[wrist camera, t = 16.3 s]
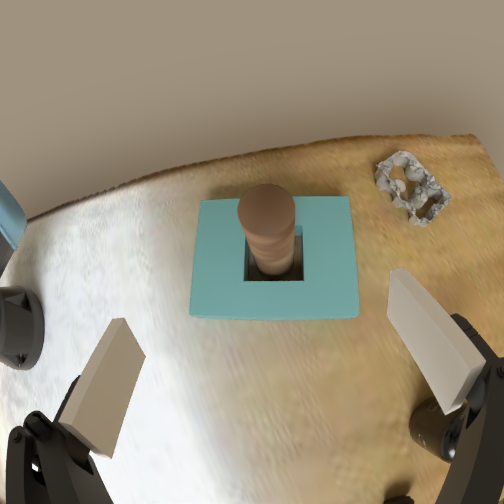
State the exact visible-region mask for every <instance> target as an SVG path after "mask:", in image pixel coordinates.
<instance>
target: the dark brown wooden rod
mask: <svg viewBox="0 0 504 504" xmlns="http://www.w3.org/2000/svg"><path fill="white" fill-rule="evenodd" d="M384 504H414V501H413V499H411V497H409V496H399V497H394V498H390V499H388V500H386V501H385V502H384Z"/></svg>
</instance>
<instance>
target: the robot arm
mask: <svg viewBox="0 0 504 504" xmlns="http://www.w3.org/2000/svg"><path fill="white" fill-rule="evenodd" d="M26 227H27V219H26V216H25V213H24V211H23V210H22V208H21V206H20V205H19V203H18V202H17V201H16V199H15V198H14V197H13V195H12V194H11V193H10V191H9V190H8V189H7V188H6V187H5V185H4V184H3V183H2V182H1V181H0V278H1V276H2V274H3V272H4V270H5V268H6V266H7V264H8V262H9V260H10V258H11V256H12V254H13V253H14V251H16V250H17V248H18V247H17V245H18V244H19V242H20V240H21V238H22V236H23V234H24V233H25V230H26ZM387 317H388V318H389V320H390V322H391V323H392V325H393V326H394V328H395V329H396V331H397V332H398V334H399V336H400V337H401V339H402V340H403V342H404V344H405V345H406V347H407V348H408V350H409V352H410V353H411V355H412V357H413V358H414V360H415V362H416V363H417V365H418V367H419V369H420V370H421V372H422V374H423V375H424V377H425V379H426V381H427V382H428V384H429V386H430V388H431V390H432V391H433V393H434V395H435V397H436V399H437V401H438V403H439V404H440V406H441V408H442V410H443V412H444V414H445V415H447V414H449V413H450V412H452V411H454V410H456V409H458V408H460V407H461V405H462V404H463V402H464V400H465V399H466V400H467V402H468V406H467V407H466V409H465V410H464V412H463V413H462V415H461V417H460V419H462V418H463V417H464V416H465V418H464V422H463V426H462V430H461V434H460V437H459V441H458V444H457V448H456V451H455V454H454V457H453V460H452V463H451V466H450V469H449V471H448V474H447V477H446V479H445V482H444V484H443V487H442V489H441V491H440V494H439V496H438V498H437V500H436V503H435V504H498V502H499V499H500V496H501V492H502V489H503V486H504V357H503V358H499V357H498V356H497V355H496V354H495V353H494V352H493V350H492V349H491V348H490V347H489V345H488V344H487V343H486V342H485V341H484V339H483V338H482V337H481V336H480V335H478V332H477V331H476V330H475V329H474V328H473V326H472V325H471V324H470V323H469V322H468V321H467V320H466V319H465V318H464V317H462V316H460V315H458V314H457V313H455V314H453V315H451V316H449V314H448V313H447V312H446V311H445V310H444V309H443V308H442V307H441V305H440V304H439V303H438V302H437V301H436V300H435V299H434V298H433V297H432V296H431V294H430V293H429V292H428V291H427V290H426V289H425V288H424V287H423V286H422V285H421V284H420V283H419V282H418V281H417V280H416V279H415V278H414V277H413V276H412V275H411V274H410V273H409V272H408V271H407V270H406V269H405V268H404V267H402V268H398V269H394V270H391V271H390V287H389V299H388V309H387ZM43 338H44V321H43V313H42V309H41V305H40V303H39V300H38V298H37V297H36V295H35V294H34V293H33V292H32V291H31V290H28V289H26V288H23V287H20V286H11V287H0V362H2V363H4V364H5V365H7V366H9V367H11V368H13V369H16V370H29V369H31V368H32V367H33V366H34V365H35V364H36V363H37V361H38V359H39V356H40V354H41V350H42V346H43ZM145 357H146V356H145V354H144V353H143V351H142V349H141V348H140V346H139V344H138V342H137V340H136V339H135V337H134V335H133V333H132V331H131V330H130V328H129V326H128V324H127V322H126V320H125V318H117V319H112V321H111V322H110V324H109V326H108V327H107V329H106V331H105V333H104V334H103V336H102V338H101V339H100V341H99V343H98V345H97V347H96V348H95V350H94V352H93V354H92V355H91V357H90V359H89V361H88V363H87V365H86V366H85V368H84V370H83V372H82V374H81V375H79V376H78V377H77V378H76V379H75V380H74V381H73V382H72V384H71V386H70V388H69V390H68V393H67V394H66V396H65V399H64V400H63V402H62V404H61V406H60V408H59V410H58V412H57V414H56V416H55V418H54V421H53V422H51V421H50V420H49V419H48V418H47V417H46V416H45V415H44V414H43V413H42V412H40V411H33V412H31V413H30V414H28V416H27V417H26V418H25V420H24V423H23V427H22V426H17V427H15V428H13V429H12V430H11V432H10V434H9V438H8V447H7V459H6V504H114V503H113V501H112V500H111V498H110V496H109V494H108V492H107V490H106V488H105V486H104V483H103V481H102V479H101V477H100V475H99V473H98V470H97V468H96V466H95V463H94V461H93V459H92V457H91V456H90V455H89V452H90V450H91V451H92V452H94V453H95V454H96V455H97V456H100V457H104V458H109V459H112V456H113V453H114V449H115V446H116V443H117V439H118V436H119V433H120V429H121V426H122V423H123V420H124V417H125V414H126V411H127V408H128V405H129V402H130V399H131V396H132V393H133V390H134V387H135V384H136V381H137V379H138V376H139V373H140V370H141V368H142V365H143V362H144V359H145ZM32 463H33V464H34V465H35V466H37V467H38V472H37V471H35V470H34V469H32ZM503 504H504V502H503Z"/></svg>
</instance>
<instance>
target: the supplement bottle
mask: <svg viewBox="0 0 504 504" xmlns="http://www.w3.org/2000/svg"><path fill="white" fill-rule="evenodd" d="M467 406H468V402H467V400H464V402H463V404H462V405H461V407H460V408H458V409H456V410H454V411H452V412H450V413H449V414H447V415H445V414H444V412H443V410H442V408H441V406H440V404H439V403H438V401H437V399H436V397H435V396H433V397H431V398H429V399H427V400H425V401H424V402H423V403H422V404H421V405H420V406H419V407H418V408H417V410H416V411H415V413H414V415H413V417H412V419H411V423H410V435H411V437H412V439H413V440H414V442H416V443H417V444H418V445H420V446H421V447H423V448H424V449H426V450H427V451H429V452H430V453H432V454H433V455H435V456H437V457H438V458H440V459H441V460H443V461H445V462H447V463H450V464H451V463H452V460H453V457H454V454H455V451H456V448H457V444H458V441H459V437H460V434H461V430H462V426H463V422H464V418H465V416H464V417H463V418H462V419H460V417H461V415H462V413H463V412H464V410H465V409H466V407H467Z"/></svg>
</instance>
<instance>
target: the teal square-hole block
mask: <svg viewBox="0 0 504 504" xmlns="http://www.w3.org/2000/svg"><path fill="white" fill-rule="evenodd" d="M240 199H241V198H236V199H217V200H201V205H200V212H199V220H198V228H197V237H196V245H195V254H194V264H193V274H192V285H191V297H190V309H189V315H191V316H194V317H197V318H208V319H234V320H327V319H352V318H355V317H357V316H359V295H358V279H357V266H356V255H355V245H354V236H353V227H352V219H351V212H350V205H349V198H348V196H299V197H293V200H294V202H295V236H301V238H302V272H303V281H248V262H249V244H248V241H247V239H246V236H245V234H244V231H243V228H242V226H241V223H240V221H239V218H238V214H237V207H238V203H239V201H240Z"/></svg>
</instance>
